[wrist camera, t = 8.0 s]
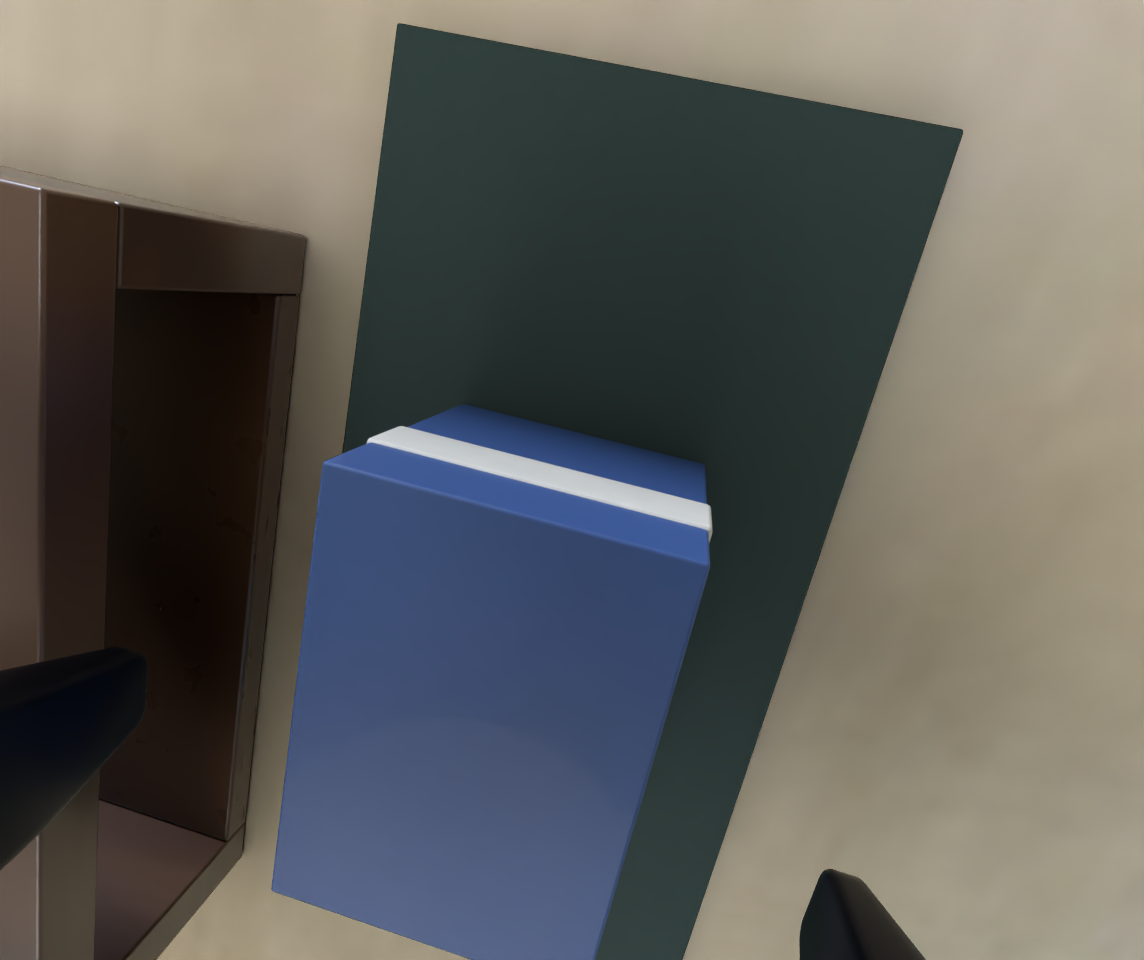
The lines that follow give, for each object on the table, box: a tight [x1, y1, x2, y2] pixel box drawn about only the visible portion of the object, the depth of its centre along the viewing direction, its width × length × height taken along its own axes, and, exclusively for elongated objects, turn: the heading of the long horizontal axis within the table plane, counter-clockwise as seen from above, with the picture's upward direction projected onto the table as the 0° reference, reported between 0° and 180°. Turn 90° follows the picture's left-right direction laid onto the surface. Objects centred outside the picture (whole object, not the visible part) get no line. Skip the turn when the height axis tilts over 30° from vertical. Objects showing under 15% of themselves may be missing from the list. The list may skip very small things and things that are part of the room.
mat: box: [342, 23, 963, 960], centre depth 15 cm, size 20×10×1 cm, turn 168°
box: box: [272, 404, 713, 960], centre depth 12 cm, size 7×5×6 cm
